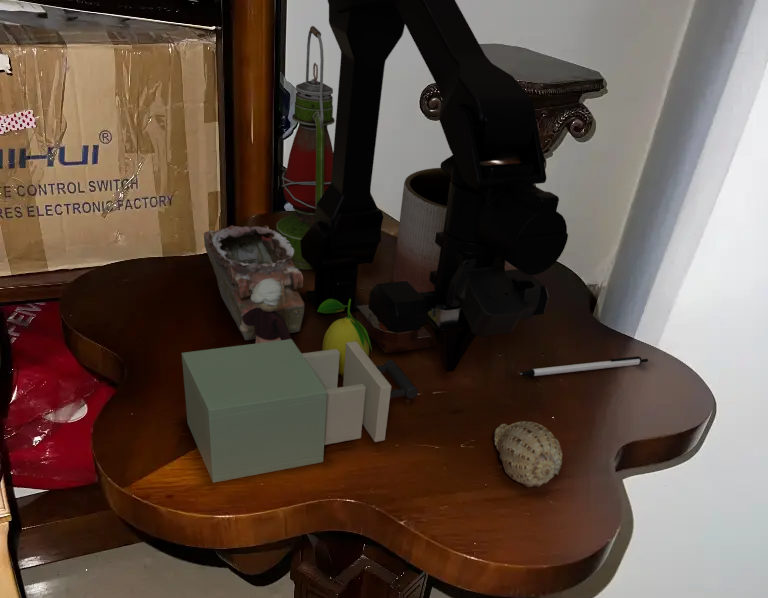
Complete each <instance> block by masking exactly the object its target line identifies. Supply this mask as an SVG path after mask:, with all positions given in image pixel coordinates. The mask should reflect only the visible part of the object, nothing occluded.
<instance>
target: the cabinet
mask: <svg viewBox="0 0 768 598" xmlns="http://www.w3.org/2000/svg"><path fill="white" fill-rule="evenodd" d="M181 364H182V373H183V374H182V375H183V386H184V398H185V410H186V421H187V425H188V428H189V431H190V433H191V435H192V437H193V439H194V442H195V444H196V447H197V449H198V451H199V454H200V456H201V458H202V460H203V463H204V465H205V468H206V470H207V472H208V474H209V477H210V479H211V482H212V483H213V484H214V483H221V482H225V481H231V480H236V479H241V478H247V477H251V476H257V475H262V474H267V473H273V472H278V471H283V470H289V469H295V468H300V467H304V466H310V465H315V464H319V463H320V464H321V463H323V462H324V458H325V457H324V455H325V445H324V441H325V424H326V407H327V391H326V389H325V388H324V386H323V385H322V383H321V382H320V380H319V379H318V377H317V376H316V374H315V373H314V371H313V370H312V368H311V367H310V365H309V364H308V363H307V361H306V360H305V358H304V357H303V355H302V352H301V351H300V349H299V348H298V346H297V345H296V343H295V342H294V340H293V339H292V338H291V339H289V340H281V341H273V342H265V343H257V344H255V343H249V344H241V345H233V346H225V347H218V348H217V347H216V348H210V349H202V350H195V351H194V350H193V351H186V352H181Z"/></svg>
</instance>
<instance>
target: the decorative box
mask: <svg viewBox="0 0 768 598" xmlns="http://www.w3.org/2000/svg"><path fill="white" fill-rule="evenodd" d="M285 238H286V237H283V236H282V235H280V234H279V233H277V231H276V230H273V229H272V228H271V229H270V227H269V225H263V226H259V225H255V226H248V225H245V226H237V225H233V224H231V225H229V226H227V227H224V228H221V229H218V230H207V231H205V232H204V233H203V242H204V248H205V251H206V254H207V256H208V258H209V260H210V263H211V266H212V268H213V271H214V274H215V277H216V281H217V286H218V289H219V294H220V297H221V299H222V301H223V303H224V304H225V306H226V308H227V309H228V311H229V313H230V315H231V317H232V319H233V320H234V322H235V324H236V326H237V328H238V330H239V333H241V335H242V336H243V339H244V340H245V341H251V340H256V334H255V326H250V327H249V330H248V331H247V332H245V333H244V332H242V331H241V330H240V325H241V324H242V316H243V315H244V314H245V313H247V312H248V311H249V310H251V309H253V308H260V307H259V305H258V303H254V302H252V300H251V294H252V293H253V290H254V288H255V287H256V285H257V284H258V283H259V282H261V281H262V280H264V279H270V278H273V279H275V280H276V281H278V282H279V283H280V286H281V288H282V291H281V294H282V295H280V298H281V303H280V306H279V307H278V309H276V310H275V311H276V312H277V313H278V314H279V315H281V316H282V317H283V318H284V320H285V322H286V326H287V328H288V330H289V333H290V334H293V333H299V332H301V330H302V329H301V328H302V323H303V319H304V314H305V302H304V300H303V298H302V297H301V295H300V292H299V291H298V289H303V287H304V276H303V273H302V271H300V268H295V266H294V264H293V262H292V256H293V254H294V249H293V248H292V247H291V246H292V245H291V244H288V243H287V242H289V241H288V240H286V239H285Z"/></svg>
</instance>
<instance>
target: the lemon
mask: <svg viewBox="0 0 768 598" xmlns="http://www.w3.org/2000/svg"><path fill="white" fill-rule="evenodd" d="M350 304H351V299H349V303H348V305H347V306H344V305H342V304H341V303H340V302H339V301H337V300H335V299H328V300H325V301H324V302H323V303H322V304H321V305H320V306H319V308H318V310H316V312H317V313H319V312H321V313H337V312H341V311H344V309H345V307H348V312H347V316H345V317H342V318H338V319H336V320H335V321H333V322H332V323H331V325H330V326H329V327H328V328H327V330H326V331H325V334H324V337H323V341H322V351H325V350H332V349H337V350H338V351H339V352H340V355H339V369H338V375H339V376H340V377H342V378H344V366H345V353H346V343H347V342H355V341H356V342H357V343H358V344H359V346H360V347H361V348H362V350H363V351H364V352H365V353H366V355H367V356H368V357H369V356H370V351H371V352H373V348H372V343H371V339H370V336H369V334H368V333H367V331H366V330H365V328H364V327H363V326H362V325H361V324H360V322H359V321H358V320H357V319H356V318H354V317H353V315H352V314H351V312H350ZM369 358H370V357H369Z"/></svg>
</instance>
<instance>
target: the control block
mask: <svg viewBox="0 0 768 598" xmlns="http://www.w3.org/2000/svg"><path fill="white" fill-rule="evenodd" d="M368 306H369V304H363V305H362V306H356V311H355V316H354V317H355V318H354V319H355V320H357V321H358V322H359V323H360V324H361V325H362V326H363V327H364V328H365V330H366V331H367V333H368V336H369V338H371V339H372V340H373V341H374V342H375V343H376V345H377V346H378V347H379V348H380V349H381V351H382V352H383V353H384V354H393V353H400V352H407V351H415V350H423V349H428V348H431V345H432V339H433V336H432V334H431V333H429V331H428V330H427V329H426V328H425V327H424V326H423V327H422V328H421V329H420V330H416V331H408V332H400V333H394V332H390V331H388V330H387V329H386V328H385V326H384V325H382V324H380V321H379V320H378V318H377V317H376V316H375V315H374V314H373V313H372V311H371V310H370V309H369V308H368Z"/></svg>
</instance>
